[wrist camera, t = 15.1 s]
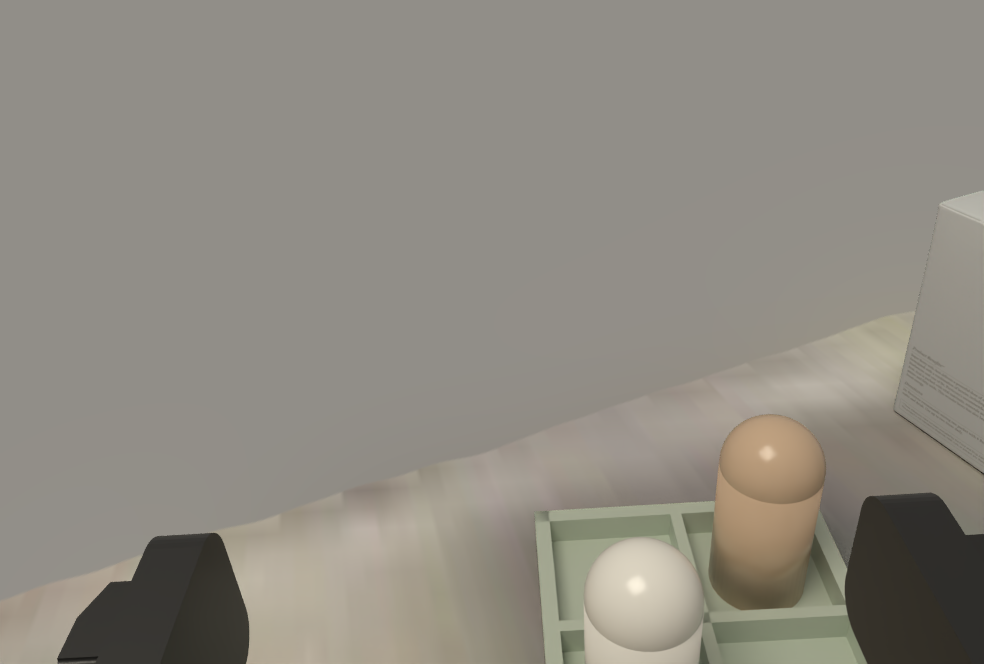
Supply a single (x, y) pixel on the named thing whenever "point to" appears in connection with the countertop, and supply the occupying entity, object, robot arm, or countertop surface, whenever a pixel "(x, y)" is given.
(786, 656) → the green rectangular open tray
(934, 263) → the supplement box
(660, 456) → the countertop surface
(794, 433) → the tan dome-topped cylinder
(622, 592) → the white dome-topped cylinder
